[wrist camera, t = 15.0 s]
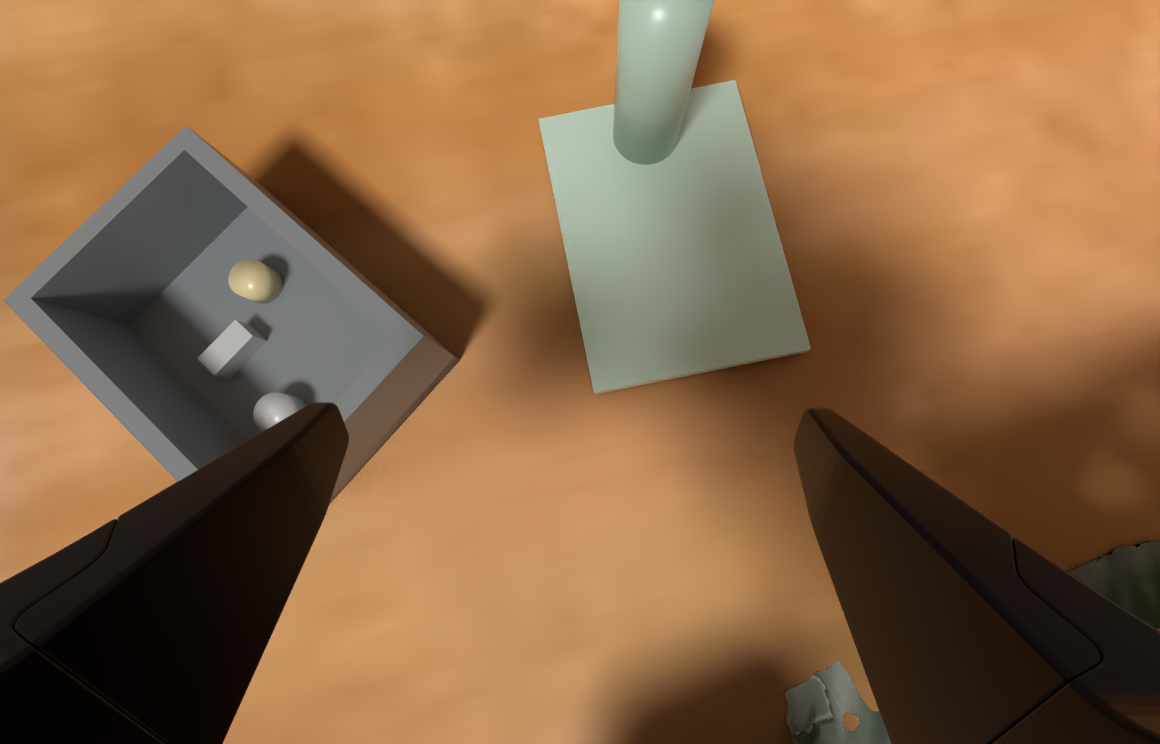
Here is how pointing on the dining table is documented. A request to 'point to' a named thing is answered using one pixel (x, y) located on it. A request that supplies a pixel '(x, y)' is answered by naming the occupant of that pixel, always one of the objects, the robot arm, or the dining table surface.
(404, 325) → the parts tub
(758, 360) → the pale green stand
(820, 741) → the rose bouquet
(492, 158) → the dining table surface
